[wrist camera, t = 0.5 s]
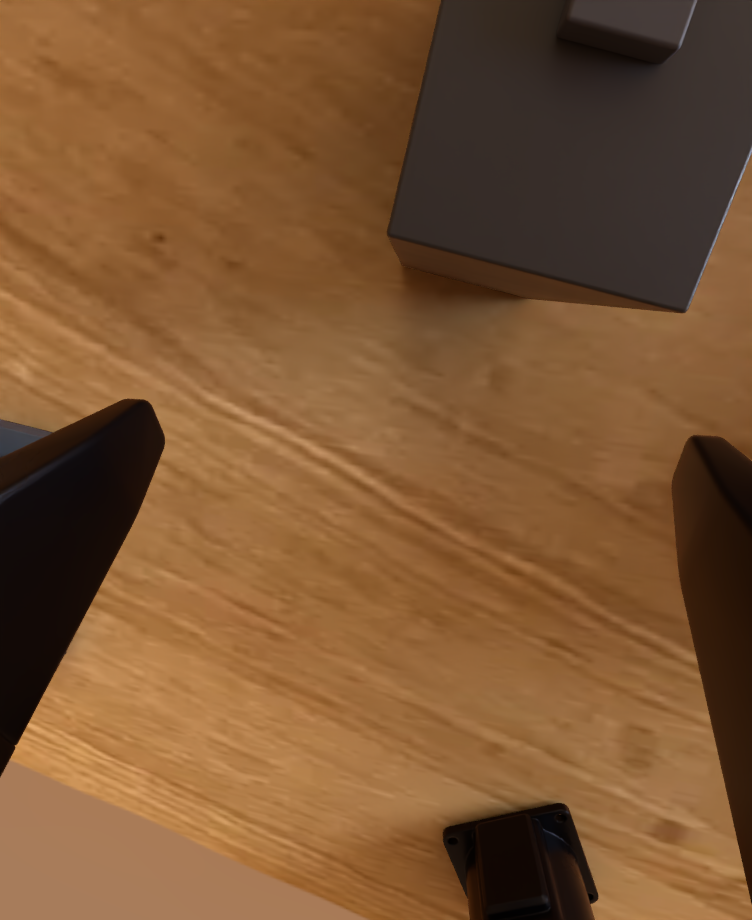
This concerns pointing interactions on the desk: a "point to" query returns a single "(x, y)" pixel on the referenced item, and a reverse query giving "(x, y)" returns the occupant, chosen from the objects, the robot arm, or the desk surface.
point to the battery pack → (577, 147)
